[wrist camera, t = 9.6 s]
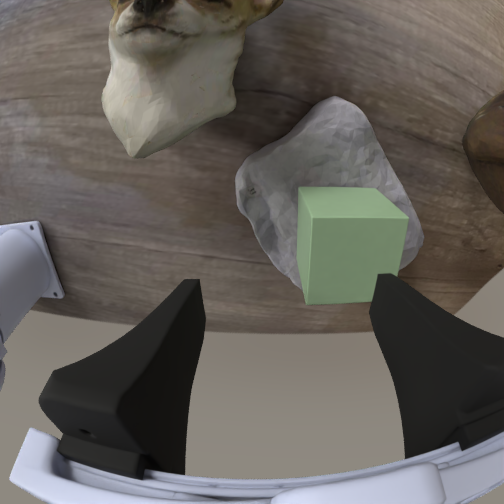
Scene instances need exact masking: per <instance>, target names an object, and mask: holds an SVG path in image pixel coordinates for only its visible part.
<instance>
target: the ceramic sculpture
mask: <svg viewBox="0 0 504 504" xmlns="http://www.w3.org/2000/svg"><path fill="white" fill-rule="evenodd" d="M110 3H111V6H112V9H113V10H114V11H115V14H114V16H113V18H112V20H111V22H110V25H109V44H108V48H109V51H110V60H111V72H110V75H109V77H108V80H107V83H106V87H105V88H104V89H103V94H102V100H101V101H102V103H103V110H104V113H105V115H106V117H107V119H108V120H109V122H110V124H111V126H112V128H113V130H114V132H115V134H116V135H117V137H118V138H119V139H120V141H121V142H122V143H123V145H124V146H125V148H126V150H127V153H128V155H129V156H130V157H132V158H137V159H138V158H145V157H147V156H149V155H151V154H153V153H155V152H157V151H160V150H163V149H165V148H167V147H169V146H171V145H173V144H175V143H176V142H178V141H179V140H181V139H182V138H184V137H185V136H187V135H188V134H190V133H191V132H193V131H194V130H196V129H197V128H199V127H200V126H202V125H203V124H205V123H207V122H209V121H211V120H213V119H215V118H220V117H224V116H225V115H227V114H228V113H230V112H231V111H233V110H234V109H235V106H236V98H235V93H234V88H233V85H232V80H233V76H234V70H235V68H236V65H237V62H238V58H239V56H240V55H241V54H242V52H243V45H244V42H245V30H246V28H247V26H249V25H251V24H252V23H254V22H256V21H258V20H260V19H262V18H264V17H266V16H268V15H269V14H270V13H272V12H273V11H274V10H275V9H276V8H278V7H279V6H280V5H281V4H282V3H283V0H110Z"/></svg>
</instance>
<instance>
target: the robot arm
mask: <svg viewBox="0 0 504 504" xmlns="http://www.w3.org/2000/svg"><path fill="white" fill-rule="evenodd" d="M33 227H34V228H33ZM64 296H65V293H64V291H63V288H62V286H61V283H60V280H59V278H58V275H57V272H56V270H55V267H54V264H53V261H52V258H51V255H50V252H49V249H48V246H47V243H46V240H45V237H44V233H43V230H42V226H41V224H40V222H38V221H30V222H22V223H15V224H7V225H0V390H1V389H2V386H3V383H4V377H5V364H4V362H3V361H2V359H3V357H4V356H5V354H6V353H7V350H6V348H5V347H4V345H3V344H4V343H5V341H6V340H7V339H8V337H9V336H10V335H11V333H12V332H13V330H14V329H15V328H16V327H17V325H18V324H19V323H20V322H21V320H22V319H23V318H24V316H25V315H26V314H27V313H28V311H29V310H30V309H31V308H32V307H33V305H34V304H35V303H36V302H37V301H38V299H39V298H40V297H47V298H60V299H62V298H63V297H64ZM369 314H370V318H371V322H372V326H373V330H374V333H375V336H376V338H377V341H378V343H379V346H380V348H381V350H382V353H383V355H384V358H385V360H386V363H387V365H388V368H389V370H390V373H391V376H392V379H393V382H394V386H395V390H396V394H397V398H398V403H399V408H400V414H401V420H402V427H403V436H404V447H405V448H404V449H405V459H404V460H400V461H396V462H393V463H388V464H384V465H380V466H376V467H371V468H366V469H361V470H355V471H349V472H343V473H336V474H329V475H320V476H311V477H301V478H285V479H224V478H208V477H197V476H187V475H185V455H186V436H187V424H188V413H189V404H190V395H191V389H192V384H193V380H194V376H195V372H196V368H197V364H198V360H199V356H200V351H201V347H202V344H203V339H204V331H205V322H206V317H205V311H204V305H203V299H202V292H201V286H200V279H184V280H183V281H182V282H181V283H180V284H179V285H178V287H177V288H176V289H175V290H174V291H173V292H172V293H171V294H170V295H169V296H168V297H167V298H166V299H165V300H164V301H163V302H162V303H161V304H160V305H159V306H158V307H157V308H156V309H155V310H154V311H153V312H152V313H151V314H149V315H148V316H147V317H146V318H145V319H144V320H143V321H142V322H141V323H139V324H138V325H137V326H136V327H134V328H133V329H132V330H131V331H129V332H128V333H126V334H125V335H124V336H122V337H121V338H119V339H118V340H116V341H115V342H113V343H112V344H110V345H108V346H107V347H105V348H103V349H102V350H100V351H98V352H96V353H94V354H92V355H90V356H88V357H86V358H84V359H82V360H80V361H78V362H75V363H73V364H70V365H68V366H65V367H62V368H60V369H57V370H54V371H53V372H52V374H51V376H50V378H49V380H48V382H47V383H46V385H45V387H44V389H43V391H42V393H41V395H40V397H39V404H40V407H41V409H42V410H43V412H44V413H45V414H46V416H47V417H48V418H49V419H50V420H51V421H52V422H53V423H54V424H55V425H56V427H57V428H58V429H59V430H60V431H61V432H62V433H63V436H62V438H61V440H59V439H58V438H56V437H54V436H52V435H50V434H47V433H45V432H42V431H40V430H37V429H35V428H30V429H29V431H28V433H27V436H26V438H25V440H24V443H23V445H22V448H21V450H20V452H19V455H18V457H17V459H16V462H15V465H14V467H13V470H12V472H11V475H10V478H9V479H10V481H11V482H13V483H14V484H15V485H17V486H19V487H20V488H22V489H23V490H25V491H26V492H28V493H30V494H31V495H33V496H35V497H37V498H38V499H40V500H42V501H43V502H46V503H47V504H468V503H470V502H471V501H473V500H475V499H477V498H479V497H480V496H483V495H484V494H486V493H488V492H490V491H491V490H493V489H495V488H496V487H498V486H500V485H501V484H503V483H504V338H503V337H500V336H497V335H494V334H491V333H489V332H486V331H484V330H482V329H479V328H477V327H475V326H472V325H470V324H468V323H467V322H465V321H463V320H461V319H459V318H457V317H455V316H454V315H452V314H450V313H449V312H447V311H445V310H444V309H442V308H441V307H439V306H438V305H436V304H435V303H433V302H432V301H430V300H429V299H427V298H426V297H425V296H423V295H422V294H420V293H419V292H418V291H416V290H415V289H414V288H412V287H411V286H409V285H408V284H407V283H405V282H404V281H402V280H401V279H400V278H398V277H397V276H395V275H393V274H392V273H383V274H378V275H377V280H376V285H375V290H374V294H373V298H372V303H371V307H370V311H369Z"/></svg>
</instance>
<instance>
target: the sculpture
mask: <svg viewBox="0 0 504 504" xmlns="http://www.w3.org/2000/svg"><path fill="white" fill-rule="evenodd" d="M462 144H463V148H464V150H465V152H466V154H467V156H468V159H469V162H470V165H471V167H472V170H473V172H474V174H475V175H476V177H477V179H478V180H479V182H480V184H481V185H482V187H483V189H484V190H485V192H486V194H487V195H488V197H489V198H490V199H491V201H492V202H493V203H494V204H495V205H496V207H497V208H498V209H499V210H500V211H501V212H502V213H503V214H504V90H503V91H502V92H500V93H499V94H497V95H496V96H494V97H493V98H492V99H491V100H490V101H489V102H488V103H487V104H485V105H484V106H483V107H482V108H481V109H480V110H479V111H478V113H477V114H476V116H475V117H474V118H473V119H472V120H471V121H470V123H469V125H468V128H467V131H466V133H465V135H464V137H463V141H462Z"/></svg>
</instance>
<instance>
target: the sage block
mask: <svg viewBox="0 0 504 504" xmlns="http://www.w3.org/2000/svg"><path fill="white" fill-rule="evenodd" d="M408 222H409V217H408V216H407V215H406V214H404V213H403V212H402V211H401V210H400V209H399V208H398V207H397V206H395V205H394V204H393V203H392V202H391V201H390V200H389V199H387V198H386V197H385V196H384V195H383V194H382V193H380V192H379V191H378V190H377V189H376V188H357V187H299V188H298V228H297V256H296V259H297V264H298V269H299V273H300V278H301V283H302V288H303V293H304V298H305V303H306V305H323V304H343V303H360V302H372V298H373V294H374V290H375V285H376V280H377V275H378V274H383V273H392V274H393V275H395V276H398V271H399V267H400V263H401V258H402V253H403V249H404V244H405V239H406V234H407V228H408Z"/></svg>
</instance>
